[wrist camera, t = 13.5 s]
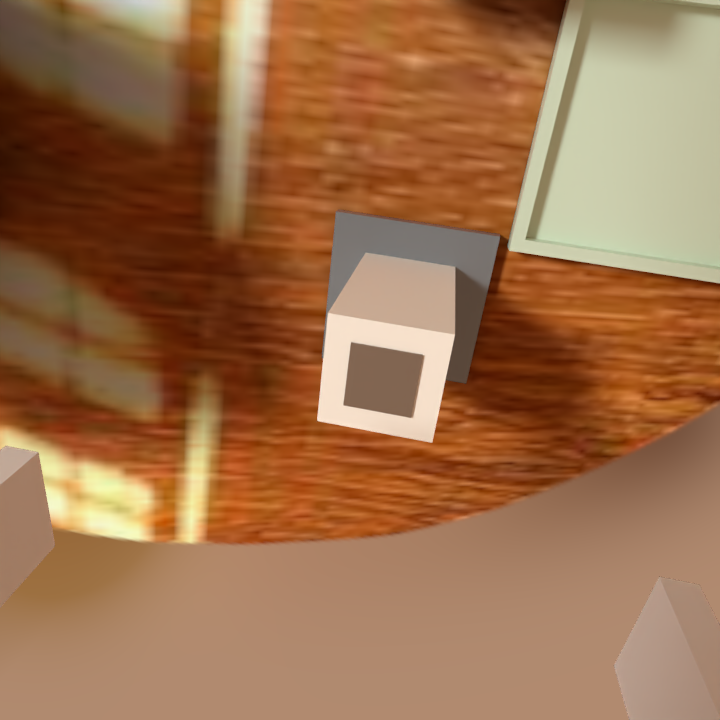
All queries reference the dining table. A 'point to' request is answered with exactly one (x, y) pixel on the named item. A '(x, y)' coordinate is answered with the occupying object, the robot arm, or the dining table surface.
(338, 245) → the slate coaster
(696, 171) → the green tray
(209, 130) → the dining table surface
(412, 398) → the cream square pillar
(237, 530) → the dining table surface
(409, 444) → the dining table surface
